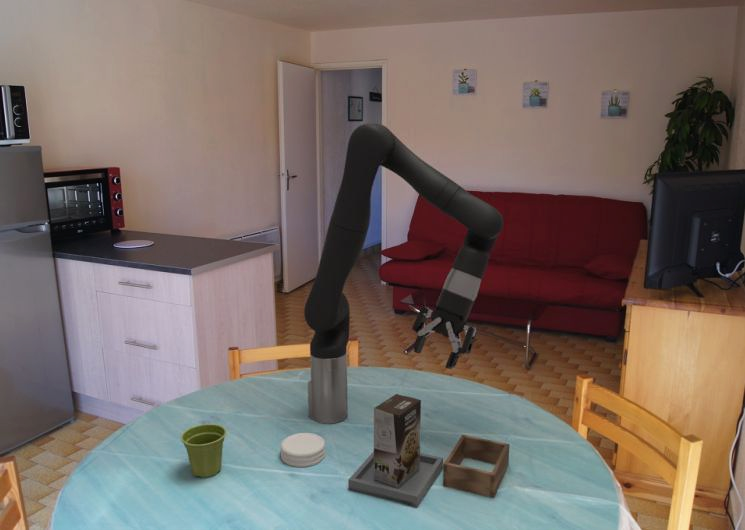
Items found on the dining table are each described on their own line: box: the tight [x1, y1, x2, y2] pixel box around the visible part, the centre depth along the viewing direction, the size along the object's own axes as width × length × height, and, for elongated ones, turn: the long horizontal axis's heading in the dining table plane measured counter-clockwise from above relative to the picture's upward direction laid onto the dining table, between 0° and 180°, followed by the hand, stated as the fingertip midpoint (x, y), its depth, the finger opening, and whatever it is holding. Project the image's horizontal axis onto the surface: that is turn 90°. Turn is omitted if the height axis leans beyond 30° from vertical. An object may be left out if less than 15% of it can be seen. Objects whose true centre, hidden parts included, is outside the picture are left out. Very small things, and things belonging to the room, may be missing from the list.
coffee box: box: [373, 393, 422, 488], centre depth 127 cm, size 9×6×16 cm
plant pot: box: [180, 423, 227, 479], centre depth 131 cm, size 9×9×9 cm
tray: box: [348, 450, 444, 508], centre depth 129 cm, size 15×16×2 cm
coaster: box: [280, 432, 326, 468], centre depth 138 cm, size 10×10×4 cm
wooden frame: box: [442, 434, 510, 499], centre depth 129 cm, size 11×14×5 cm
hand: (432, 360), depth 136 cm, fingers open, 8 cm apart
